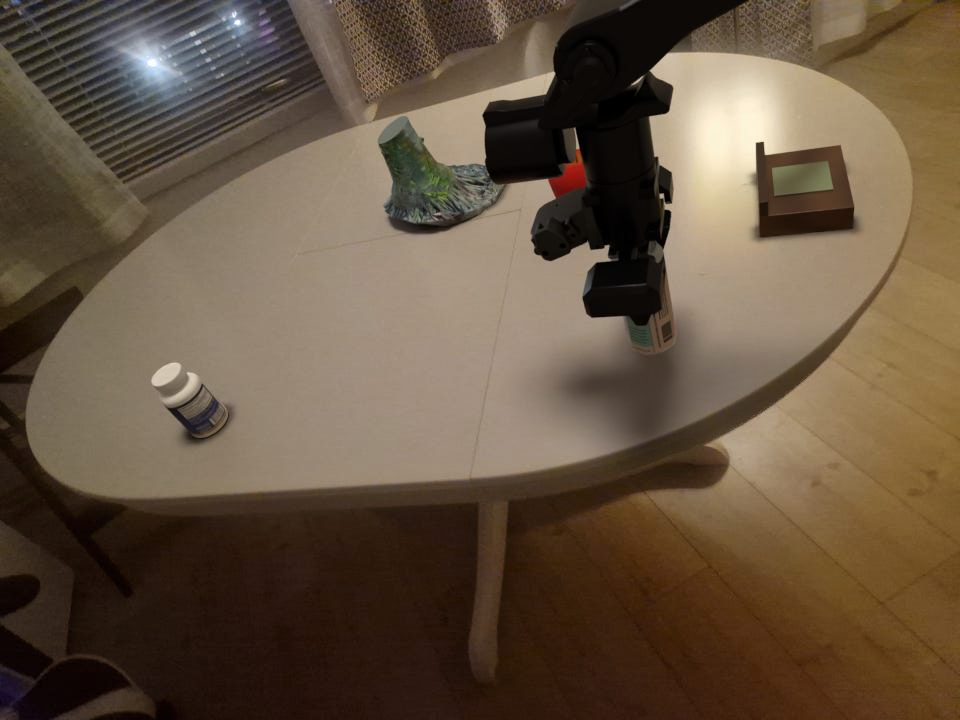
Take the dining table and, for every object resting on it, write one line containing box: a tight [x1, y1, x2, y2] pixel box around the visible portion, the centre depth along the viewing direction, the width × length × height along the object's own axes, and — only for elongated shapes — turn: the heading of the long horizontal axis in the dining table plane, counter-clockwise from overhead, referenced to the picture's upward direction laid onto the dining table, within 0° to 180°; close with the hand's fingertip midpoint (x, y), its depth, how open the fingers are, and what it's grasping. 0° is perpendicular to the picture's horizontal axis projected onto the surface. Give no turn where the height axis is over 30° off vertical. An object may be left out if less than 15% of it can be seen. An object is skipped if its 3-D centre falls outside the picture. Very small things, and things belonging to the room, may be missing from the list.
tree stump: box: [377, 115, 506, 227], centre depth 105 cm, size 18×20×18 cm
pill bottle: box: [150, 362, 229, 439], centre depth 83 cm, size 5×5×10 cm
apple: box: [547, 148, 587, 199], centre depth 89 cm, size 9×8×12 cm
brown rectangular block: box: [755, 141, 855, 238], centre depth 81 cm, size 10×14×5 cm
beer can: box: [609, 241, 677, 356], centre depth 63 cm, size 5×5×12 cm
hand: (643, 306), depth 64 cm, fingers closed on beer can, 5 cm apart
